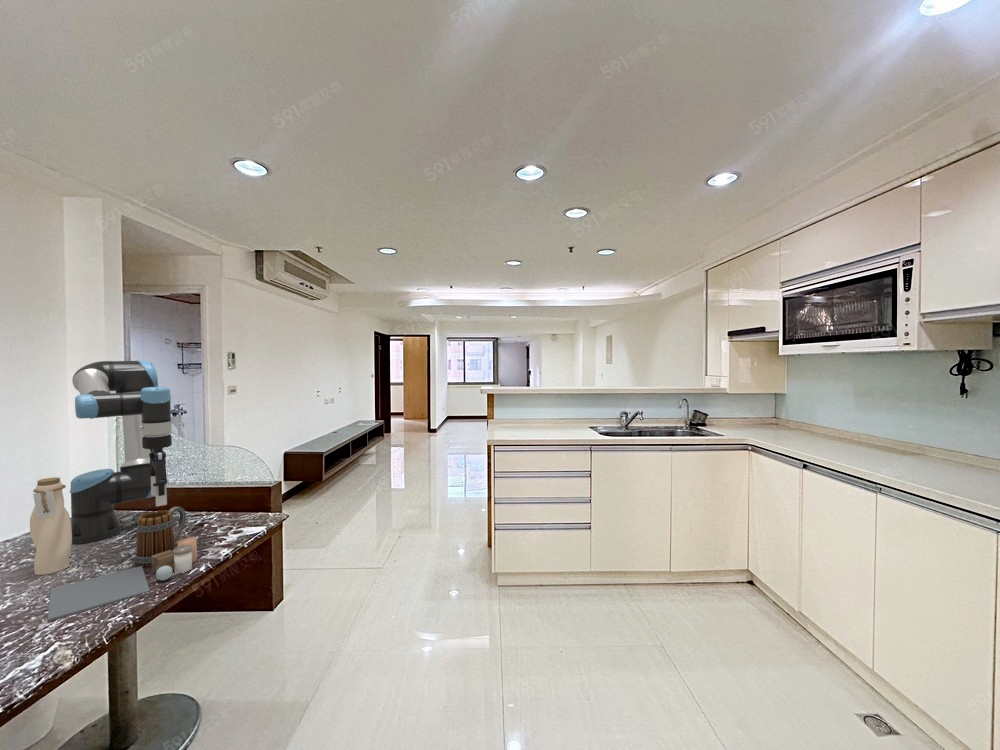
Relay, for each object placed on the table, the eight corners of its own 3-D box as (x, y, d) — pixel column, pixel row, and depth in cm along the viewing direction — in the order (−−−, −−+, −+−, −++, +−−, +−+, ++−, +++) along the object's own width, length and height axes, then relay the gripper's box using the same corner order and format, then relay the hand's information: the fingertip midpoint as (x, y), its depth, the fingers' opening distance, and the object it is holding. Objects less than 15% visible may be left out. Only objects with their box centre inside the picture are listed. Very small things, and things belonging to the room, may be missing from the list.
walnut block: (151, 571, 136) (151, 555, 136) (170, 565, 140) (170, 549, 140) (159, 576, 133) (158, 559, 133) (178, 569, 138) (177, 553, 138)
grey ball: (155, 579, 131) (154, 566, 131) (171, 574, 134) (171, 561, 134) (156, 584, 128) (156, 571, 128) (173, 579, 131) (173, 566, 131)
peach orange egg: (176, 561, 143) (176, 540, 142) (195, 557, 146) (194, 536, 146) (179, 567, 139) (178, 545, 139) (198, 562, 142) (197, 540, 142)
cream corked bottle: (74, 570, 137) (71, 480, 136) (32, 580, 130) (28, 486, 129) (71, 559, 144) (68, 473, 143) (31, 569, 137) (27, 479, 136)
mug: (154, 569, 138) (152, 521, 137) (126, 565, 140) (124, 518, 139) (197, 548, 153) (196, 504, 152) (172, 545, 155) (171, 502, 154)
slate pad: (50, 590, 125) (50, 588, 125) (141, 567, 139) (141, 565, 138) (47, 621, 110) (47, 619, 110) (149, 592, 124) (149, 590, 124)
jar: (172, 570, 137) (171, 548, 137) (191, 565, 140) (190, 543, 140) (174, 576, 133) (174, 553, 133) (194, 570, 137) (193, 548, 136)
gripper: (138, 431, 150) (140, 493, 151) (145, 442, 132) (148, 512, 132) (166, 428, 155) (168, 489, 156) (176, 439, 137) (178, 507, 138)
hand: (158, 500), depth 144 cm, fingers open, 13 cm apart
